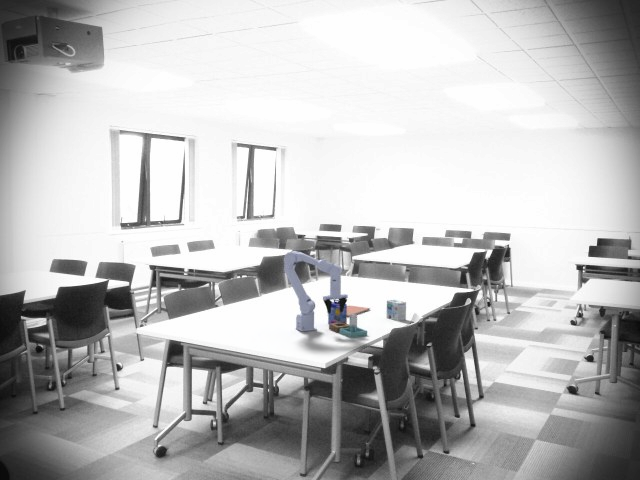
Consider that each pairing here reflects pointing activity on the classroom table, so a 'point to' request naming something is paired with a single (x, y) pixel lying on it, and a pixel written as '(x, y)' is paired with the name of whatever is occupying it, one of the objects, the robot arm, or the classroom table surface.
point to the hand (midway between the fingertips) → (335, 312)
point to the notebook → (355, 310)
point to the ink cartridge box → (337, 313)
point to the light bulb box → (396, 310)
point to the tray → (354, 334)
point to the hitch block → (338, 326)
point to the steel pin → (353, 323)
